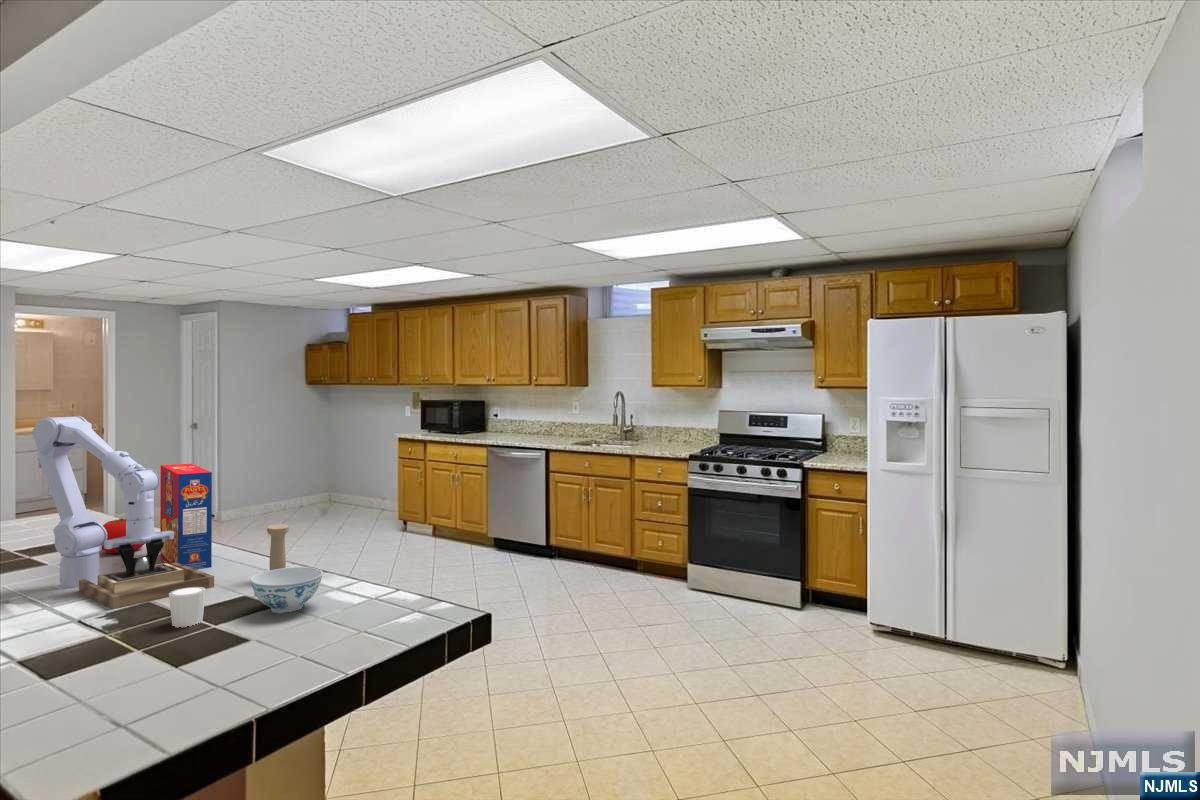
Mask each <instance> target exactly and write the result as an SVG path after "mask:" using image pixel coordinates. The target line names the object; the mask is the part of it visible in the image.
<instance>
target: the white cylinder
mask: <svg viewBox="0 0 1200 800" xmlns="http://www.w3.org/2000/svg"><path fill="white" fill-rule="evenodd" d="M206 592H207V589H205V588H203V587H188V588H181V589H177V590H174V591H172V592H170V593H169V597H168V598H169V607H170V616H171V617H170V619H171V626H172V627H173V626H175V627H174V628H179V627H181V628H188V627H187V626H189V627H193V626H192V625H194V626H196V625H195V624H197V625H199V624H201V623H202V622H203V621H204V620H203V619H204V612H205V602H206ZM200 622H201V623H200ZM198 623H199V624H198Z"/></svg>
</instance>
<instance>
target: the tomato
mask: <svg viewBox="0 0 1200 800" xmlns="http://www.w3.org/2000/svg"><path fill="white" fill-rule="evenodd" d="M102 526H103V527H104V528H105V529H106V531H107V540H110V539H115V538H120V537H124V536H126V518H119V519H115V520H109V521H106V522H105V523H103V524H102ZM137 542H138V541H137ZM144 545H146V543H141V544H134V545H131V546H132V548H134V549H135V551H137V550H138V549H141V548H142V547H143V546H144ZM101 551H102V552H104V553H108V554H113V553H117V554H119V553H118V551H117V550H116V547H115V548H112V549H105V548H104V545H103V546H102V550H101Z"/></svg>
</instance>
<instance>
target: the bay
mask: <svg viewBox="0 0 1200 800" xmlns="http://www.w3.org/2000/svg"><path fill="white" fill-rule="evenodd" d="M171 565H173V566H175V567H178V568H181V569H183V570H184V581H182V582H177V583H173V584H168V585H163V586H158V587H153V588H148V589H144V590H139V591H134V592H129V593H124V594H119V595H117V594H115V593H112V592H110V591H108V590H106V589H104V588H102V587H100V586H98V585H97V583H96V584H94V583H92V582H90V581H88V580H86V579H83V580H79V587H78V592H79V593H81V594H83V595H85V596H86V597H88V598H90V599H92V600H95V601H96V602H98V603H99V604H102V605H104V606H106V607H108V608H109V609H111V610H117V609H122V608H126V607H129V606H135V605H139V604H143V603H149V602H152V601H157V600H162V599H166V598H169V593H170V592H172V591H174V590H177V589H181V588H188V587H203V588H205V589H206V590H207V589H211V588H215V575H212V574H209V573H206V572H203V571H201V570H200V569H197V570H196V569H193V568H190V567H187V566H185V565H182V564H179V563H176V562H175V563H171Z"/></svg>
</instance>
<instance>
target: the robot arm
mask: <svg viewBox="0 0 1200 800" xmlns="http://www.w3.org/2000/svg"><path fill="white" fill-rule="evenodd" d="M92 426H93V425H92V423H91V422H89V421H87V419H86V418H85V417H82V416H80V415H74V416H58V417H57V416H54V417H51V416H43V417H41V418H39V420H37V422H36V423H35V425H34V427H33V429H32V430H31V433H32V436H33V439H34V442H35V444H36V447H37V457H38V460H39V463H40V465H41V468H42V471H43V475H44V476H45V480H46V483H47V485H48V488H49V491H50V495H51V497H52V498H53V503H54V505H55V508H56V511H57V513H58V516H59V519H60V521H59V522H58V523H57V525H55V527H54V528H53V529H52V531H53V535H54V547H55V550H56V551H57V553H59V555H60V557H62V558H61V559H60V562H59V584H58V585H55V586H54V587H55V589H57V590H62V589H67V588H69V589H70V588H73V589H74V588H79V580H83V579H86V580H88V581H90V582H92V583H94V584H96V585H97V584H98V575H100V551H103V550H102V546H103V545H104V548H105V549H112V548H115V547H116V550H117V551H118V553H117V554H118V555H119V556H120V558H121V560H122V562H123V564H124V568H125V570H126V573H127V574H128V575H133V557H134V556H135V551H136V550H135V549H134V548H132V546H131V545H134V544H141V543H145V548H146V549H145V550H146V555H150V571H153V570H154V566H155V565H156V562H157V559H158V557H159V555H160V551H161V549H162V548H163V546H164V542H162V540H166V539H174V532H173V531H164V532H160V531H156V532H155V490H157V489H158V488H159V487H160V486H159V485H160V476H159V474H158V473H157V471H156V470H155V469H152V468H145V467H143V465H142V464H141V463H140V464H139V463H138V462H137V461H136V460H134V459H133V458H131V456H130V453H129V452H127V451H123V450H114V448H113V447H111V446H110V445H109V444H108V443H107V442H106V441H105V440H104V439H103V438H102V437H101V436H100V435H99V434H97V432H96V431H94V430H93V427H92ZM78 445H79V446H80V447H82V448H83V449H84V450H86V451H88V452H89V453H91V454H92V455H93V456H95V457H96V458H97V459H99V460H100V461H101V468H102V469H103V470H104V471H105V472H107V473H108V474H109V475H110V476H112V477H113V478H114V479H115V480H117V481H118V482H119V488H120V490H121V492H122V493H123V496H124V497H123V498H124V500H125V502H126V503H125V505H126V506H125V508H126V513H125V514H126V516H125V519H126V536H124V537H120V538H115V539H110V540H107V531H106V529H105V528H104V527H103V524H102V523H101V522H100V520H99V517H97V516H95V515H94V514H91V513H90V512H88V510H87V507H86V504H85V502H84V499H83V495H82V493H81V491H80V488H79V485H78V483H77V479H76V477H75V474H74V472H73V468H72V466H71V463H70V461H69V457H68V455H69V454H70V453H71V451H72V450H73V449H74V448H76V447H77V446H78ZM137 541H138V542H137Z"/></svg>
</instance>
